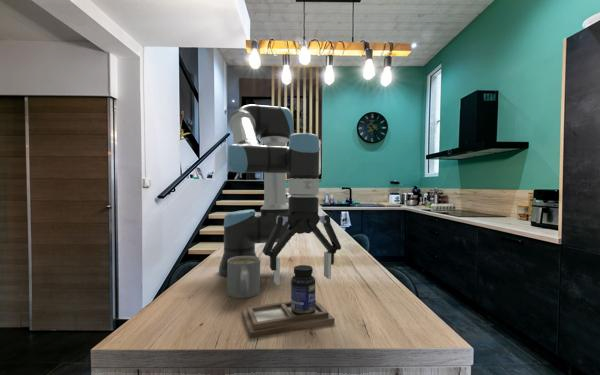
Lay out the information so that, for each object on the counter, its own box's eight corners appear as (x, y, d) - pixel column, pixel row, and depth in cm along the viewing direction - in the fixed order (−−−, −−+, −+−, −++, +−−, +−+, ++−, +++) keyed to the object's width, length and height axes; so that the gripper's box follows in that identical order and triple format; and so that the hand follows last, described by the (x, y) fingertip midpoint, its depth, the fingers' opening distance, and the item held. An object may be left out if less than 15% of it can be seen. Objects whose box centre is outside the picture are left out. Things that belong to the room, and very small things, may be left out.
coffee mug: (231, 286, 92) (231, 255, 92) (262, 286, 92) (262, 255, 92) (220, 302, 79) (220, 267, 79) (255, 303, 79) (255, 267, 79)
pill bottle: (313, 318, 67) (313, 271, 67) (288, 315, 68) (288, 270, 68) (317, 307, 73) (317, 264, 73) (294, 305, 74) (294, 263, 74)
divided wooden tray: (242, 314, 72) (242, 305, 72) (315, 303, 78) (315, 295, 78) (250, 338, 61) (250, 327, 61) (334, 323, 67) (334, 314, 67)
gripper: (257, 197, 63) (256, 291, 64) (354, 196, 72) (353, 279, 72) (251, 195, 70) (250, 280, 71) (341, 194, 79) (340, 270, 79)
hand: (302, 280), depth 71 cm, fingers open, 13 cm apart
